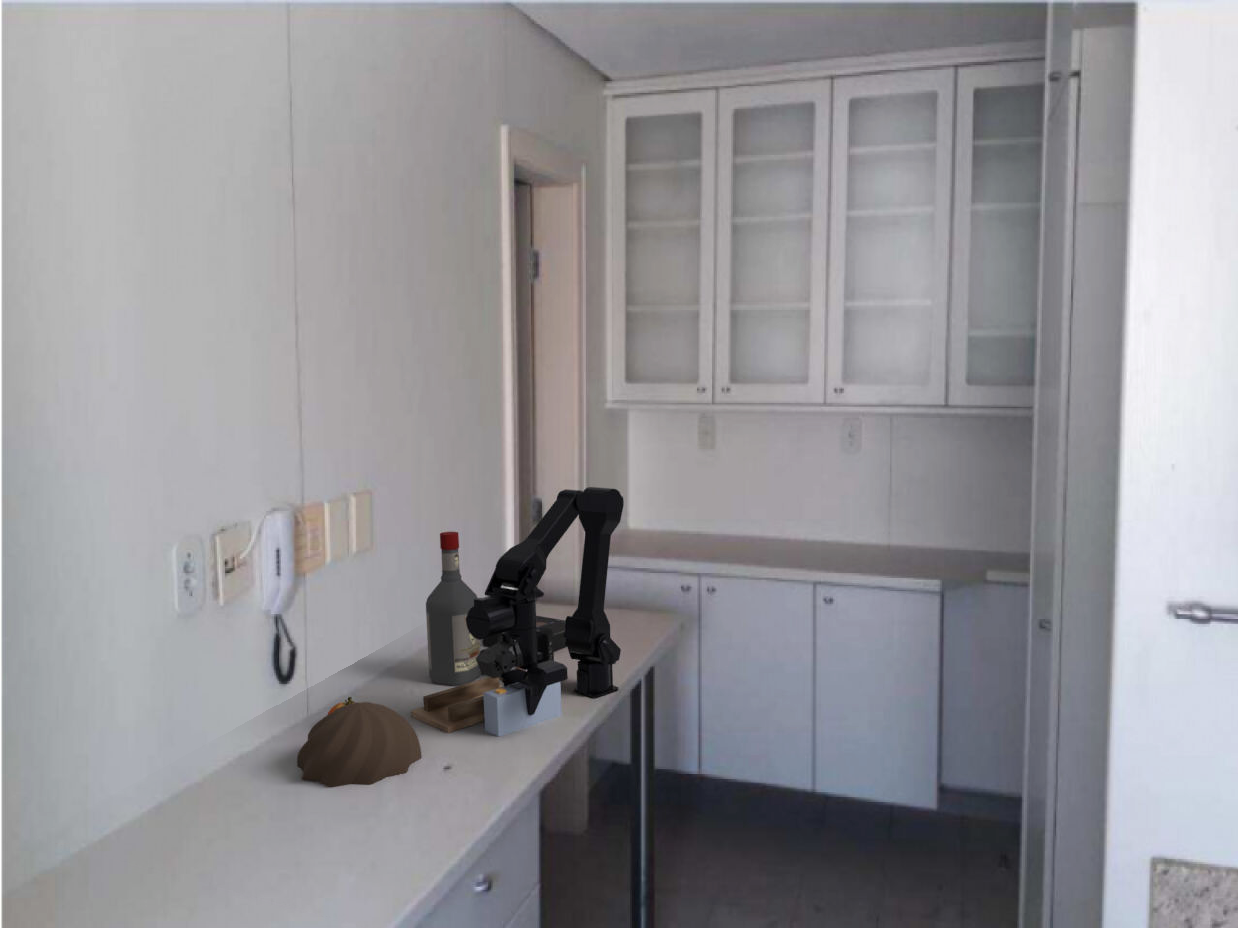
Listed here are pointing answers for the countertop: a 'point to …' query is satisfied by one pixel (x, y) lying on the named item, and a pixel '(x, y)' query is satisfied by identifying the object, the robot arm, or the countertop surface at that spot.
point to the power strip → (518, 708)
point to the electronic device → (545, 646)
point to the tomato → (341, 705)
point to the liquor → (451, 622)
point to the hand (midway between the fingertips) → (523, 711)
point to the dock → (456, 705)
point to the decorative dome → (358, 746)
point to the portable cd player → (541, 622)
